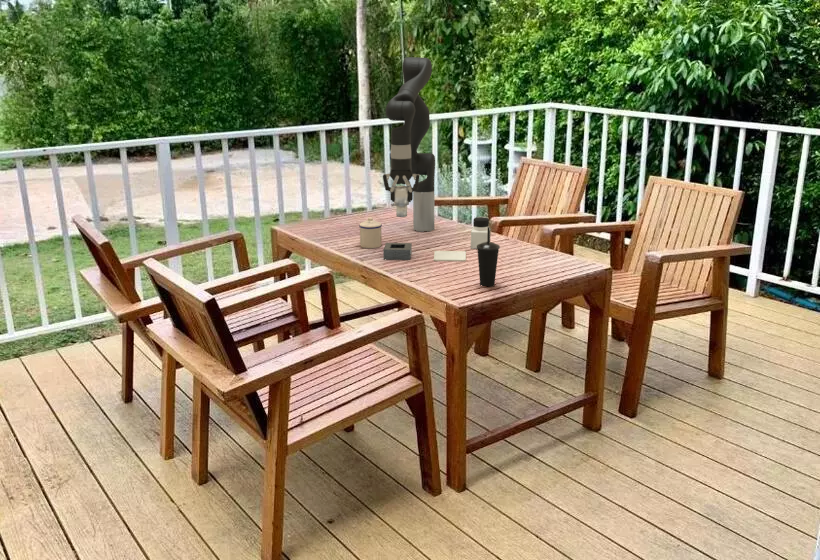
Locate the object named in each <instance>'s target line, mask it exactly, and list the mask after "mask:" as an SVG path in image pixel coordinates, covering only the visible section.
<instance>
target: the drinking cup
mask: <svg viewBox="0 0 820 560" xmlns="http://www.w3.org/2000/svg"><path fill="white" fill-rule="evenodd" d="M490 229H491V228H490V226H489V227H488V232H487V242H483V243H481V244H478V245H477V249H476V250H477V259H478V260H477V261H478V274H479V275H478V276H479V286H480V285H482V286H493V285H494V286H495V284H496V283H495V282H496V276H497V275H496V273H497V267H498V260H499V259H498V258H499V249H500V248H501V247H500V244H498V243H495V242H494V241H493V242H492V241H490V242H489V234H490V235H491V233H490ZM482 286H481V287H482ZM494 286H493V287H494Z"/></svg>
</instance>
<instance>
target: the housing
mask: <svg viewBox="0 0 820 560" xmlns="http://www.w3.org/2000/svg"><path fill="white" fill-rule="evenodd" d="M382 252H383V255H382V256H383V261H410V260H411V257H412V253H413V252H412V242H385V244H384V247H383V250H382ZM385 259H386V260H385Z"/></svg>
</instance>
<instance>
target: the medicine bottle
mask: <svg viewBox="0 0 820 560" xmlns="http://www.w3.org/2000/svg"><path fill="white" fill-rule="evenodd" d="M472 222H473V223H472V224H473V227H472V229H471V231H470V249H473V250H478V249H477V245H478V244H481V243H483V242H487V232H488V227H490V223H489V222H490V219H489V218H488V217H486V216H477V217H474V218H473V221H472ZM491 232H492V231H491V228H490V234H489V242H491V234H492V233H491Z"/></svg>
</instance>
